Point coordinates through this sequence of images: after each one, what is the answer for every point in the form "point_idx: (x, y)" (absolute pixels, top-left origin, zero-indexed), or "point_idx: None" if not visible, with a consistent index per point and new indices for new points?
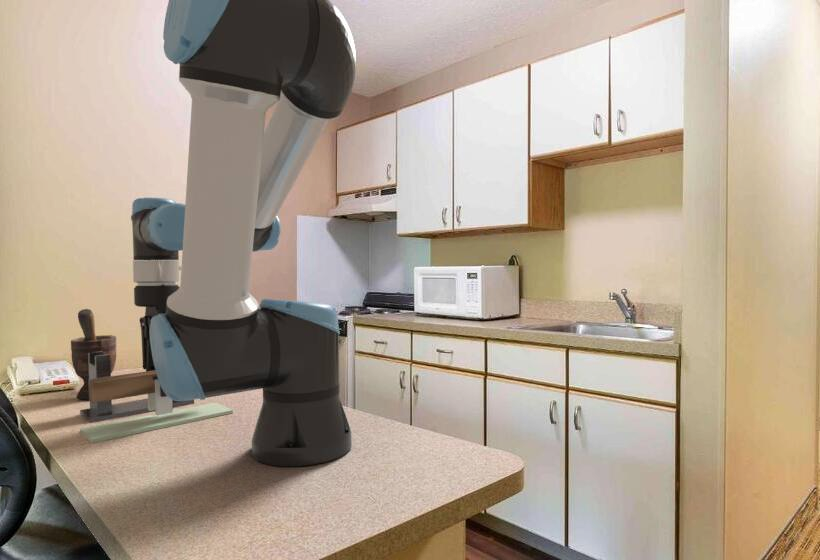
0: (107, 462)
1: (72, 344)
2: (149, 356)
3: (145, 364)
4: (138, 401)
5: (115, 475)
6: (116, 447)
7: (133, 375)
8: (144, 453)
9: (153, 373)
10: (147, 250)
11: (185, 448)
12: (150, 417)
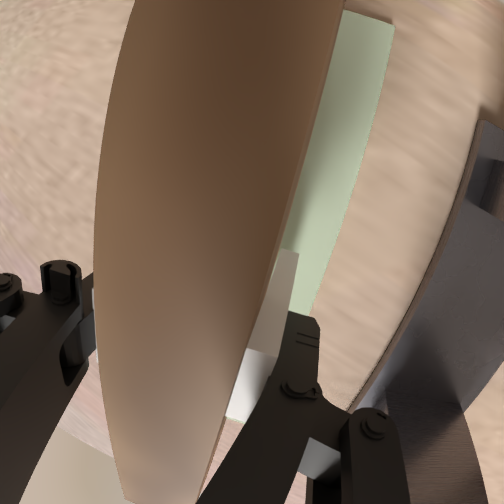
0: (56, 2)
1: None
2: (203, 492)
3: (345, 441)
4: (499, 343)
5: (9, 11)
6: (118, 33)
7: (156, 195)
8: (38, 74)
9: (111, 323)
10: None
11: (10, 150)
12: (294, 246)
